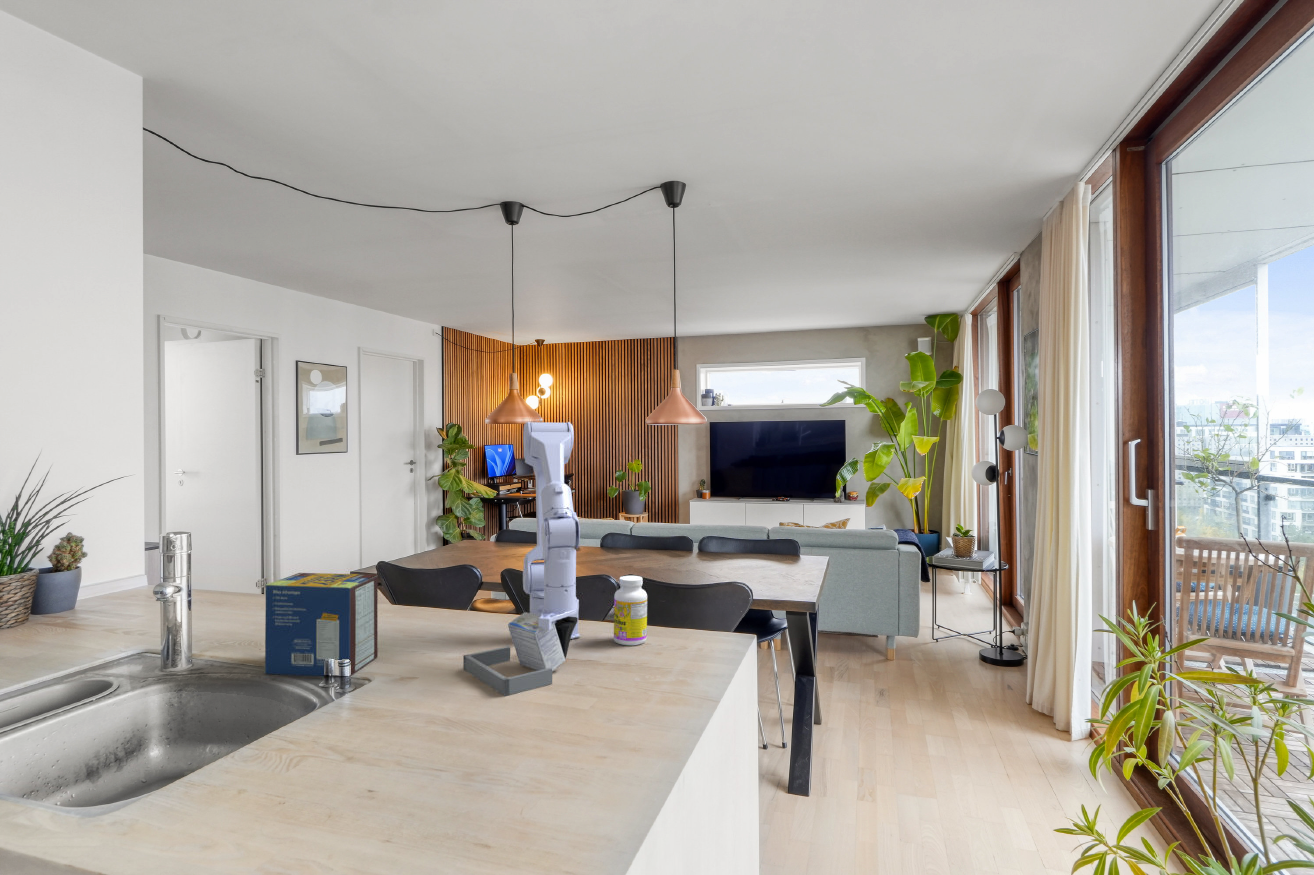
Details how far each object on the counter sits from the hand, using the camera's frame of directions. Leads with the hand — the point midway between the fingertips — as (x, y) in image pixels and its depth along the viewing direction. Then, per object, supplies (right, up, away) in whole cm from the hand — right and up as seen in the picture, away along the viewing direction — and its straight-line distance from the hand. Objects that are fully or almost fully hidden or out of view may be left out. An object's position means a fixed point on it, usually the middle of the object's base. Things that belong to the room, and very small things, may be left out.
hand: (559, 658), depth 125 cm
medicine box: (-3, 0, -2) cm, 3 cm away
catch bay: (-8, -1, -7) cm, 11 cm away
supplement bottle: (+12, -1, +14) cm, 19 cm away
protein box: (-42, -1, -2) cm, 42 cm away
